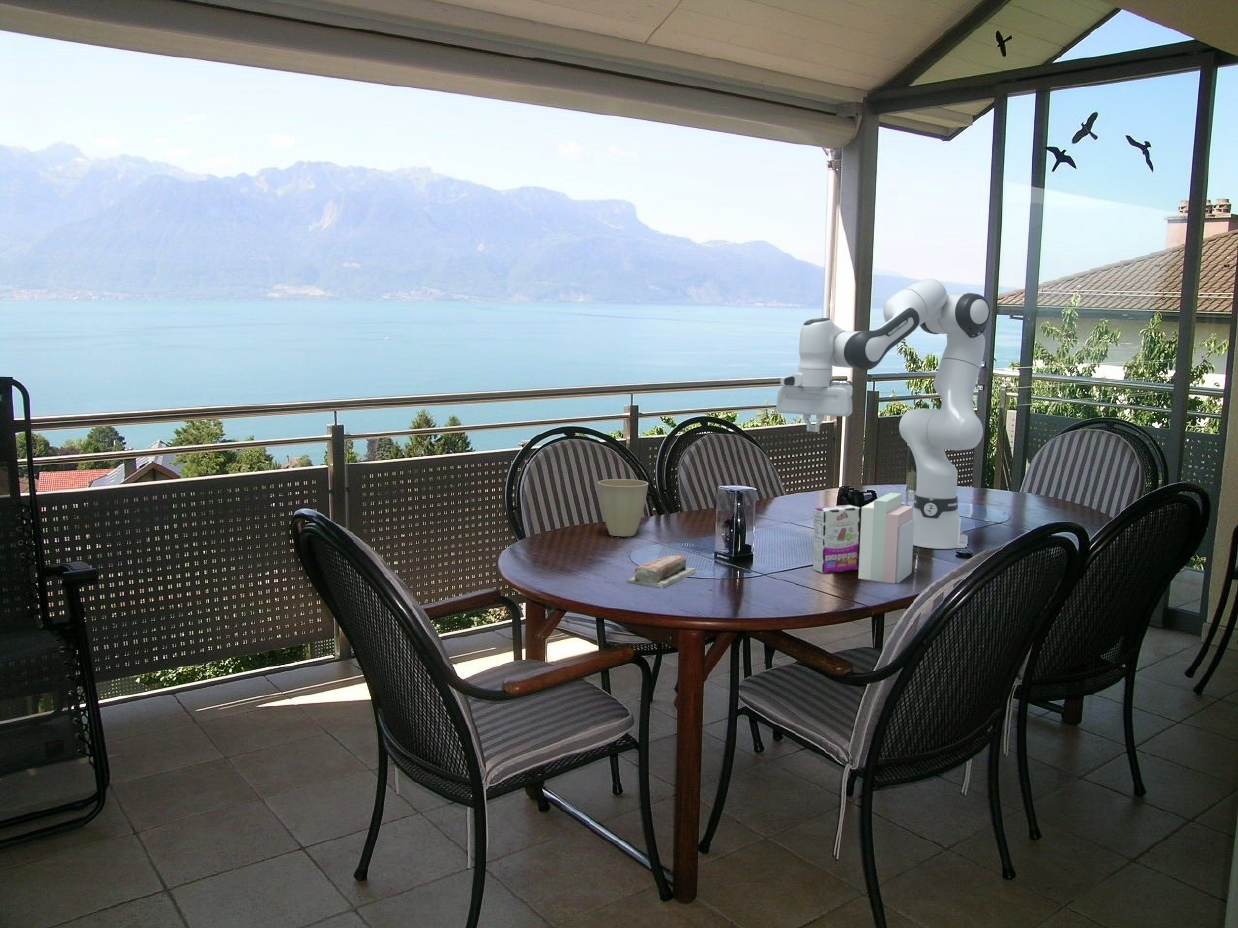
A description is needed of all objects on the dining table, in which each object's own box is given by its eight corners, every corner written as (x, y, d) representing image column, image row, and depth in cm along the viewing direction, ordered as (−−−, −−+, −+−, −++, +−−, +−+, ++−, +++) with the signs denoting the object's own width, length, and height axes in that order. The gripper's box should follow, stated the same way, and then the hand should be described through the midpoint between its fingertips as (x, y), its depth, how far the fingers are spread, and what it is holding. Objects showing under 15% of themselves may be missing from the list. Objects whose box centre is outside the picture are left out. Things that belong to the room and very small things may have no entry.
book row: (875, 567, 252) (878, 491, 249) (912, 572, 247) (916, 495, 244) (858, 578, 240) (862, 499, 237) (897, 584, 235) (901, 503, 232)
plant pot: (647, 541, 280) (648, 486, 278) (596, 540, 281) (597, 486, 278) (647, 530, 295) (648, 478, 293) (598, 529, 295) (599, 478, 293)
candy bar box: (846, 565, 253) (849, 504, 251) (858, 570, 248) (861, 507, 246) (810, 569, 248) (813, 506, 246) (822, 574, 244) (825, 510, 242)
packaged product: (663, 570, 228) (626, 565, 233) (663, 590, 229) (626, 584, 234) (696, 555, 244) (661, 550, 249) (696, 574, 244) (661, 569, 249)
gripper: (857, 380, 254) (854, 433, 256) (783, 378, 265) (782, 428, 267) (849, 381, 249) (847, 435, 251) (774, 379, 259) (773, 430, 261)
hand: (813, 431), depth 259 cm, fingers closed
